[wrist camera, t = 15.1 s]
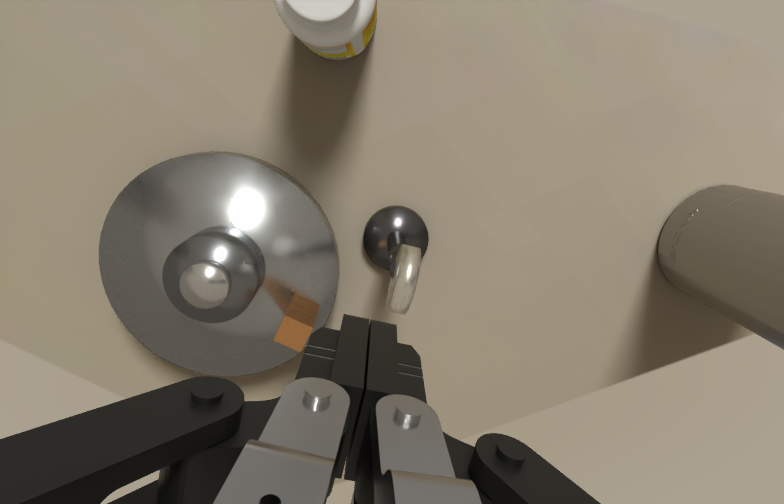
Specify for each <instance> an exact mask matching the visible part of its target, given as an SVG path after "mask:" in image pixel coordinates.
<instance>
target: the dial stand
mask: <svg viewBox="0 0 784 504" xmlns="http://www.w3.org/2000/svg"><path fill="white" fill-rule="evenodd" d="M428 240H429V239H428V231H427V228H426V226H425V224H424V222H423V220H422V218H421V217H420V216H419V215H418V214H417V213H416V212H414V211H413V210H411V209H409V208H406V207H403V206H389V207H386V208H383V209H381V210H379V211H378V212H376V213H375V214H374V215H373V216H372V217H371V218H370V219H369V221H368V223H367V225H366V227H365V231H364V246H365V250H366V252H367V254H368V256H369V257H370V259H371V260H372V261H373V262H374V263H375V264H377V265H378V266H380V267H382V268H384V269H387V270H390V273H391V278H390V283H389V288H388V294H387V301H386V310H387V311H390V312H395V313H399V314H403V315H405V314H406V313H407V311H408V309H409V307H410V304H411V302H412V299H413V296H414V292H415V289H416V285H417V281H418V276H419V270H420V264H421V258H422V257H423V256H424V254H425V252H426V250H427V246H428Z"/></svg>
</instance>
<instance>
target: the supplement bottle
mask: <svg viewBox="0 0 784 504" xmlns="http://www.w3.org/2000/svg"><path fill="white" fill-rule="evenodd" d="M274 2H275V6H276V9H277V11H278V13H279V16H280V17H281V19H282V21H283V22H284V24H285V25H286V27H287V28H288V29H289V30H290V31H291V32H292V33H293V34H294V35H295V36H296V37H297V38H298V39H299V40H300V41H301V42H302V43H303V44H304V45H306V46H307V47H308V48H309V49H310V50H311V51H312V52H314V53H315V54H316V55H318V56H320V57H322V58H325V59H328V60H334V61H340V60H346V59H350V58H352V57H354V56H356V55H358V54H359V53H361V52H362V51H363V50H364V49H365V48H366V47H367V45H368V44H369V42H370V41H371V39H372V37H373V34H374V31H375V28H376V21H377V0H274Z"/></svg>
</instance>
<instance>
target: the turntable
mask: <svg viewBox="0 0 784 504" xmlns="http://www.w3.org/2000/svg"><path fill="white" fill-rule="evenodd" d="M213 226H226V227H231V228H235V229H237V230H240V231H242V232H244V233H245V234H247V235H248V236H249V237H251V238H252V239H253V240H254V241H255V242H256V244H257V245H258V246H259V248H260V249H261V251H262V254H263V256H264V259H265V264H266V272H265V278H264V281H263V284H262V286H261V287H260V289H259V291H258V292H257V294H256V295H255V297H254V298H253V300H252V301H251V303H250V304H249V306H248V307H247V308H246V310H245V311H244V312H242V313H241V314H240V315H239V316H237V317H236V318H234V319H232V320H229V321H226V322H222V323H204V322H200V321H196V320H194V319H191V318H189V317H187V316H186V315H184V314H183V313H181V312H180V311H179V310H178V309H177V308H176V307H175V306H174V305H173V304H172V303H171V301H170V300H169V298H168V297H167V295H166V292H165V290H164V286H163V281H162V271H163V266H164V263H165V261H166V259H167V257H168V255H169V254H170V253H171V251H172V250H173V249H174V248H175V247H177V246H178V245H179V244H181V243H182V242H184V241H185V240H187V239H188V238H190V237H191V236H193V235H194V234H196V233H197V232H199V231H201V230H203V229H205V228H209V227H213ZM99 266H100V272H101V279H102V282H103V285H104V289H105V292H106V294H107V297H108V299H109V301H110V303H111V306H112V307H113V309H114V311H115V312H116V314H117V316H118V317H119V319H120V320H121V322H122V323H123V324H124V325H125V327H126V328H127V329H128V331H129V332H130V333H131V334H132V335H133V336H134V337H135V338H136V339H137V340H138V341H139V342H141V343H142V344H143V345H144V346H146V347H147V348H148V349H149V350H151V351H152V352H153V353H155V354H157V355H158V356H160V357H161V358H163V359H165V360H167V361H169V362H171V363H173V364H175V365H177V366H180V367H182V368H185V369H188V370H191V371H195V372H199V373H203V374H208V375H217V376H241V375H250V374H254V373H258V372H263V371H266V370H269V369H271V368H274V367H277V366H279V365H281V364H283V363H285V362H286V361H288V360H290V359H291V358H293V357H294V356H296V355H297V354H299V353H300V352H301V351H302V350H303V349H305V348H306V347H307V344H308V341H309V338H310V335H311V334H312V333H313V332H315V331H316V330H318V329H319V328H321V327H323V326H324V324H325V323H326V321H327V319H328V316H329V314H330V312H331V310H332V306H333V303H334V299H335V296H336V291H337V286H338V279H339V255H338V248H337V243H336V240H335V236H334V233H333V230H332V228H331V226H330V223H329V221H328V219H327V217H326V215H325V214H324V212H323V210H322V209H321V207H320V205H319V204H318V203H317V201H316V200H315V199H314V198H313V196H312V195H311V194H310V193H309V192H308V191H307V190H306V189H305V188H304V187H303V186H302V185H301V184H300V183H299V182H298V181H296V180H295V179H294V178H292V177H291V176H290V175H289V174H287V173H286V172H284V171H282V170H281V169H279V168H277V167H276V166H274V165H272V164H269V163H267V162H265V161H263V160H260V159H258V158H254V157H251V156H247V155H244V154H238V153H232V152H218V151H210V152H200V153H193V154H189V155H184V156H180V157H176V158H172V159H169V160H167V161H164V162H162V163H159V164H157V165H155V166H153V167H151V168H149V169H148V170H146V171H144V172H143V173H141V174H140V175H139V176H137V177H136V178H135V179H134V180H132V181H131V182H130V183H129V184H128V185H127V186H126V187H125V188H124V190H123V191H122V192H121V193H120V194H119V195H118V197H117V198H116V200H115V201H114V203H113V204H112V206H111V208H110V210H109V212H108V214H107V217H106V219H105V222H104V225H103V228H102V232H101V237H100V244H99Z"/></svg>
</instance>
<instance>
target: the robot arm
mask: <svg viewBox="0 0 784 504" xmlns="http://www.w3.org/2000/svg"><path fill="white" fill-rule="evenodd" d="M658 256H659V263H660V266H661V269H662V271H663V273H664V275H665V276H666V278H667V279H668V281H669V282H670V283H672V284H673V285H674V286H675V287H676V288H678V289H679V290H681V291H683V292H685V293H686V294H688V295H690V296H692V297H693V298H695V299H697V300H699V301H700V302H702V303H704V304H706V305H707V306H709V307H710V308H712V309H714V310H715V311H717V312H719V313H721V314H722V315H724V316H726V317H728V318H729V319H731V320H733V321H735V322H736V323H738V324H740V325H742V326H743V327H745V328H747V329H749V330H750V331H752V332H754V333H756V334H757V335H759V336H761V337H763V338H764V339H766V340H768V341H769V342H771V343H773V344H775V345H777V346H778V347H780V348H782V349H783V350H784V196H783V195H779V194H774V193H769V192H764V191H759V190H754V189H749V188H744V187H739V186H729V185H721V186H715V187H710V188H707V189H705V190H702V191H699V192H697V193H696V194H694V195H692V196H691V197H689V198H687V199H686V200H685V201H684V202H683V203H682V204H680V205H679V206H678V207H677V208H676V209H675V211H674V212H673V213H672V214H671V216H670V217H669V218H668V220H667V222H666V224H665V226H664V228H663V230H662V233H661V236H660V239H659V247H658ZM368 327H369V328H368ZM346 457H347V458H346ZM345 461H346V466H345V475H344V479H346V480H351V481H355V487H354V488H355V489H354V493H353V497H352V500H351V504H600V503H599V502H598V501H596V500H595V499H594V498H593V497H591V496H590V495H589V494H587V493H586V492H585V491H584V490H583V489H581V488H580V487H579V486H578V485H576V484H575V483H574V482H572V481H571V480H570V479H569V478H567V477H566V476H565V475H564V474H562V473H561V472H560V471H559V470H557V469H556V468H555V467H553V466H552V465H551V464H550V463H548V462H547V461H546V460H545V459H543V458H542V457H541V456H540V455H538V454H537V453H536V452H534V451H533V450H532V449H531V448H529V447H528V446H527V445H525V444H524V443H522V442H520V441H519V440H517V439H515V438H512V437H510V436H507V435H503V434H497V433H490V434H485V435H483V436H481V437H480V438H479V439H478V440H477V442H476V445H475V447H473V446H471V445H469V444H466V443H464V442H462V441H459V440H457V439H455V438H453V437H451V436H449V435H447V434H446V433H444V432H443V431H442V428H441V425H440V421H439V418H438V415H437V414H436V412H435V411H434V410H433V409H432V408H431V407H430V406H429V405H427V402H426V395H425V388H424V381H423V374H422V369H421V360H420V356H419V355H418V353H417V352H416V351H415V350H414V348H413V347H412V346H411V345H406V344H401V343H397V327H396V325H394V324H389V323H384V322H380V321H375V320H371V321H370V324H369V319H365V318H360V317H356V316H351V315H346V314H344V316H343V320H342V325H341V329H340V331H338V330H333V329H329V328H324V327H321V328H319V329H318V330H316V331H315V332H313V333H312V334H311V335H310V338H309V341H308V344H307V347H306V350H305V353H304V355H303V358H302V361H301V364H300V367H299V370H298V373H297V376H296V378H295V381H293V382H291V383H290V384H288V385H287V387H286V388H285V390H284V392H283V394H282V396H281V397H278V398H275V399H272V400H266V401H244V394H243V391H242V390H241V388H240V387H239V386H237V385H236V384H235V383H233V382H231V381H229V380H226V379H222V378H218V377H196V378H191V379H187V380H184V381H181V382H178V383H174V384H171V385H168V386H165V387H162V388H159V389H156V390H153V391H150V392H146V393H143V394H140V395H137V396H134V397H131V398H128V399H125V400H121V401H118V402H115V403H112V404H109V405H106V406H103V407H100V408H96V409H93V410H90V411H87V412H84V413H81V414H78V415H75V416H72V417H69V418H65V419H62V420H59V421H56V422H53V423H50V424H47V425H43V426H40V427H37V428H34V429H31V430H28V431H25V432H22V433H19V434H15V435H12V436H9V437H6V438H3V439H0V504H100V503H101V502H102V501H103V500H104V499H105V498H106V497H107V496H108V495H109V494H111V493H112V492H114V491H115V490H117V489H119V488H121V487H123V486H125V485H127V484H129V483H132V482H134V481H136V480H138V479H140V478H142V477H145V476H147V475H149V474H151V473H153V472H155V471H158V470H160V473H159V479H158V480H156V481H154V482H152V483H150V484H148V485H146V486H143V487H141V488H139V489H137V490H135V491H133V492H131V493H129V494H127V495H124V496H123V497H120V498H118V499H116V500H114V501H112V502H110V503H108V504H325V503H326V500H327V498H328V496H329V495H330V493H331V491H332V488H333V484H334V480H335V478H340V479H341V477H342V473H343V469H344V465H345Z"/></svg>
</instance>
